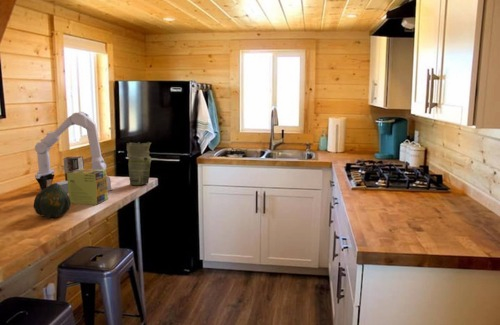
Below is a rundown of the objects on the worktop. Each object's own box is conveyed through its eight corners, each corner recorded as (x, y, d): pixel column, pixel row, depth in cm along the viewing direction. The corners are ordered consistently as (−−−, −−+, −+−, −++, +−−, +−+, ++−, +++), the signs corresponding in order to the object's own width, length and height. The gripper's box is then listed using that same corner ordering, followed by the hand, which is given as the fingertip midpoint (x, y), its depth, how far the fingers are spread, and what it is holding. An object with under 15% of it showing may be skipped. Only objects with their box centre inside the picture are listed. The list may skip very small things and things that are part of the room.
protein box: (97, 205, 198) (95, 173, 195) (68, 203, 201) (66, 172, 198) (108, 199, 208) (106, 169, 205) (81, 197, 211) (78, 168, 208)
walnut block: (52, 190, 225) (51, 179, 224) (48, 192, 221) (46, 181, 220) (45, 190, 226) (44, 179, 225) (40, 192, 221) (39, 180, 220)
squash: (25, 210, 170) (49, 182, 172) (28, 203, 183) (51, 176, 186) (55, 229, 175) (78, 201, 178) (56, 220, 189) (78, 194, 191)
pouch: (126, 184, 241) (123, 141, 236) (143, 180, 250) (141, 139, 245) (137, 187, 234) (135, 143, 229) (154, 183, 243) (152, 141, 238)
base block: (74, 192, 223) (73, 182, 222) (61, 194, 217) (60, 184, 217) (67, 190, 227) (66, 180, 226) (54, 192, 222) (54, 182, 221)
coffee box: (85, 183, 243) (83, 156, 240) (80, 185, 237) (78, 158, 234) (71, 183, 244) (68, 156, 241) (65, 185, 238) (62, 158, 235)
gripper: (45, 161, 228) (47, 185, 231) (28, 166, 214) (31, 191, 216) (57, 161, 227) (59, 185, 230) (41, 166, 213) (43, 192, 216)
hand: (46, 188), depth 223 cm, fingers closed on walnut block, 4 cm apart
